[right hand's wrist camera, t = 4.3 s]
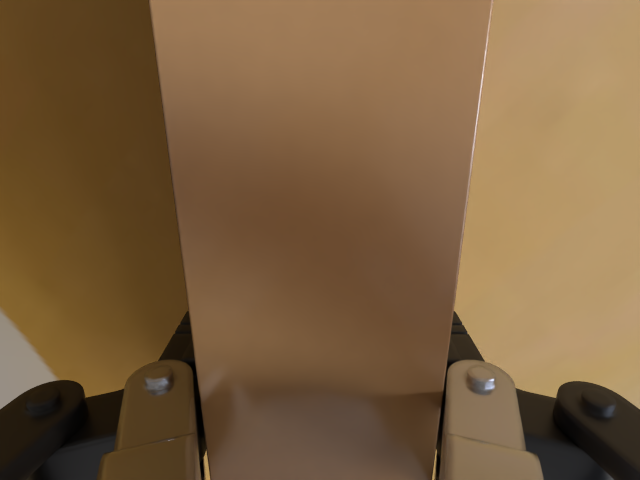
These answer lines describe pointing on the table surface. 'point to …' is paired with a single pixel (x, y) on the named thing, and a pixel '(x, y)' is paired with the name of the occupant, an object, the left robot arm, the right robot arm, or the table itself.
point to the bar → (321, 222)
